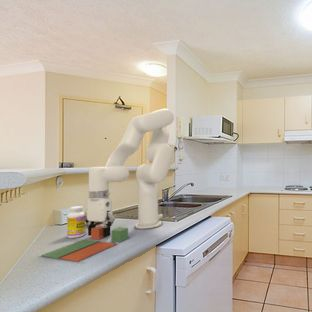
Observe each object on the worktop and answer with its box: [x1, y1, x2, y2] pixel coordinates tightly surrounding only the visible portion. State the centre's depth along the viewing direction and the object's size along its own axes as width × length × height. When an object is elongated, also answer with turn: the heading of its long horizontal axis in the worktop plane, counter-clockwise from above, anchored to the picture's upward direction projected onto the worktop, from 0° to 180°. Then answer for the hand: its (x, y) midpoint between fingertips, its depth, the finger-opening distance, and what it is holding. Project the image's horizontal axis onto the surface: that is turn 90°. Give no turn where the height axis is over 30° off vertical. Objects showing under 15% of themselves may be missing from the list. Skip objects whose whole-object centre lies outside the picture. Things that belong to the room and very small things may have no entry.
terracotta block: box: [90, 225, 105, 241], centre depth 101 cm, size 4×4×4 cm
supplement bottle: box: [66, 205, 86, 239], centre depth 103 cm, size 7×7×13 cm
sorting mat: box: [41, 239, 117, 263], centre depth 87 cm, size 16×17×1 cm
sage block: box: [111, 226, 129, 243], centre depth 97 cm, size 4×4×4 cm
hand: (99, 235), depth 101 cm, fingers open, 7 cm apart
